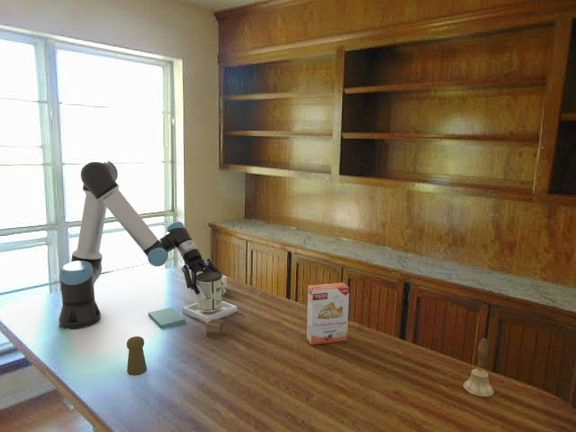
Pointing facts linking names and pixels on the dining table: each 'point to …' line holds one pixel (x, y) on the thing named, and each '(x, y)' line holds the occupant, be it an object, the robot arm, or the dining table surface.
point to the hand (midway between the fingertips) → (214, 296)
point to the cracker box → (327, 313)
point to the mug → (224, 280)
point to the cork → (136, 356)
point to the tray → (208, 316)
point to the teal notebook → (166, 317)
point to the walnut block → (215, 328)
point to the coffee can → (210, 291)
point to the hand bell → (479, 375)
